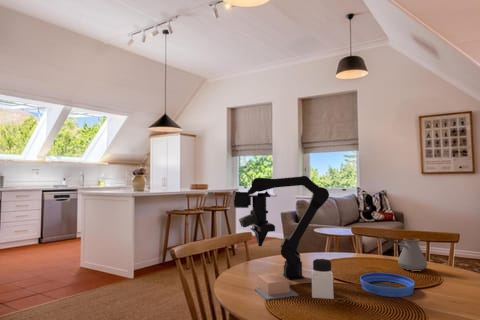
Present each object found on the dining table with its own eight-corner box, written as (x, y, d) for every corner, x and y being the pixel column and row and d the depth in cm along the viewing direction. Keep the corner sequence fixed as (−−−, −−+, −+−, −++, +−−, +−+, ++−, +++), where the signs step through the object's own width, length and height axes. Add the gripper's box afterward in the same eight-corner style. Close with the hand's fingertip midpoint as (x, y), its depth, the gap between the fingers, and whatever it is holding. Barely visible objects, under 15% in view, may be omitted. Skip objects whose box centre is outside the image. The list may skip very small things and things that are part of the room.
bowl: (411, 284, 130) (410, 274, 130) (418, 301, 112) (418, 290, 113) (360, 279, 135) (359, 270, 136) (360, 295, 118) (360, 284, 118)
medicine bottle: (334, 299, 114) (333, 262, 114) (312, 298, 115) (311, 261, 116) (332, 292, 121) (332, 257, 121) (311, 291, 122) (311, 256, 123)
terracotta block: (277, 273, 130) (289, 280, 120) (277, 283, 129) (289, 292, 120) (257, 275, 127) (268, 283, 118) (257, 286, 127) (268, 295, 118)
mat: (285, 285, 128) (285, 284, 128) (298, 295, 118) (298, 294, 118) (254, 289, 124) (254, 288, 124) (266, 300, 114) (266, 298, 114)
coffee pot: (414, 264, 155) (413, 231, 156) (434, 271, 144) (432, 235, 145) (372, 268, 150) (371, 233, 151) (390, 276, 139) (389, 238, 140)
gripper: (234, 206, 149) (234, 243, 148) (248, 211, 131) (248, 252, 130) (258, 205, 152) (258, 241, 151) (275, 209, 134) (276, 250, 134)
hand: (259, 246), depth 142 cm, fingers closed
